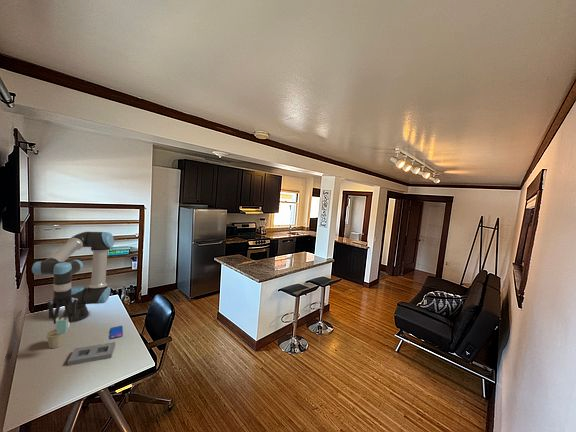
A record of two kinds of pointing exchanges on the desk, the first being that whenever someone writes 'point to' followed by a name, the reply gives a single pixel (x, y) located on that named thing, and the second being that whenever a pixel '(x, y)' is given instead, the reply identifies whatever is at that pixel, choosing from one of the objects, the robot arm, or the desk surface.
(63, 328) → the charger
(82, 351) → the outlet plate
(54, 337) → the flower pot
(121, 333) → the smartphone
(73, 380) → the desk surface
